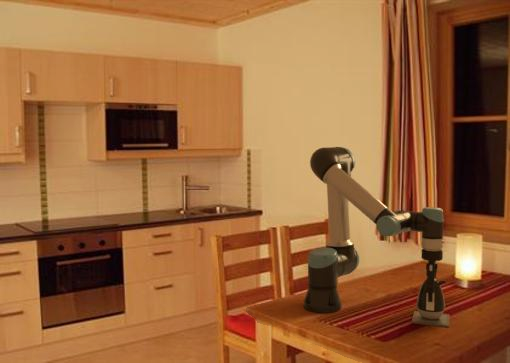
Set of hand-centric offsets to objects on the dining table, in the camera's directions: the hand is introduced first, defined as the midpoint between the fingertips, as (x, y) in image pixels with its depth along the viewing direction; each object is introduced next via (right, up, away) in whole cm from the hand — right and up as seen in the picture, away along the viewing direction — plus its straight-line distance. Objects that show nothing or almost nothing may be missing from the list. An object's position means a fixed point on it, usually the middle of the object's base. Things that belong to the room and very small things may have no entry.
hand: (431, 304), depth 205 cm
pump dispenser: (0, -5, 0) cm, 5 cm away
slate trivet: (0, -6, 0) cm, 6 cm away
